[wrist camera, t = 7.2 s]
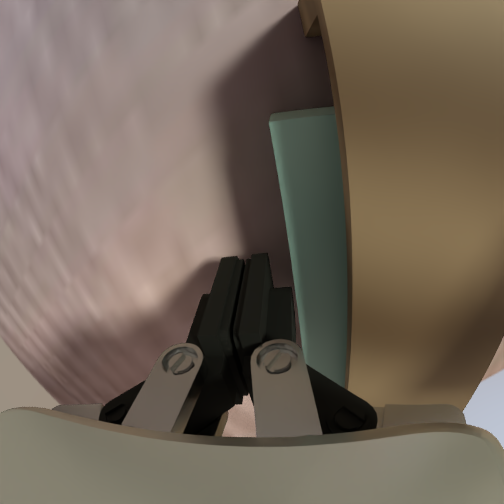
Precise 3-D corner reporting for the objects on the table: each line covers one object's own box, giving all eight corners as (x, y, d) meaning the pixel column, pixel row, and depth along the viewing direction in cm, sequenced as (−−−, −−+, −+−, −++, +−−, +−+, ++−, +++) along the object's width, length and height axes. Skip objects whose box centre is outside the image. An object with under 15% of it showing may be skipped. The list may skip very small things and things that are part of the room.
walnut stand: (297, 4, 7) (308, -44, 4) (460, 13, 6) (534, -1, 3) (335, 391, 16) (340, 454, 13) (430, 374, 15) (448, 432, 12)
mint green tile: (271, 113, 9) (268, 122, 7) (441, 103, 8) (478, 112, 6) (306, 365, 15) (308, 404, 13) (417, 349, 14) (429, 385, 12)
